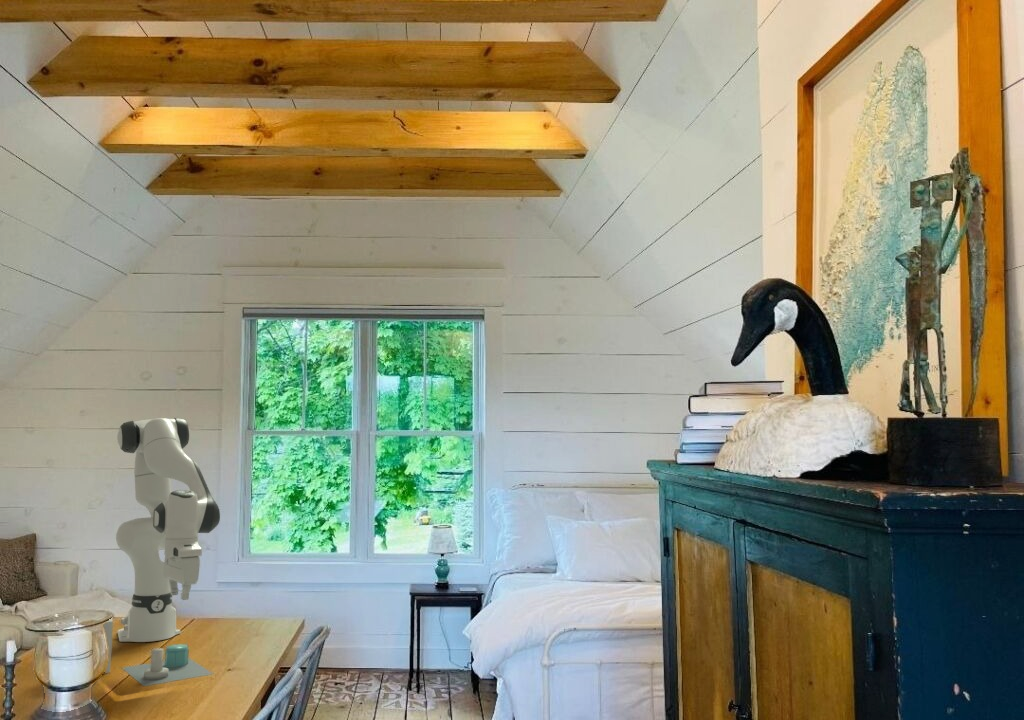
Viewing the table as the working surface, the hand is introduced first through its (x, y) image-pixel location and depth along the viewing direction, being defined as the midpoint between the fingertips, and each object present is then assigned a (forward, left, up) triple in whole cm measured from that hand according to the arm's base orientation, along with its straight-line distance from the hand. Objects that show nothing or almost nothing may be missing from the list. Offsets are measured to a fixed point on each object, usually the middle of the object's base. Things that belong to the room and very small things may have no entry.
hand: (179, 597), depth 230 cm
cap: (0, 0, -19) cm, 19 cm away
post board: (+5, -4, -20) cm, 21 cm away
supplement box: (-8, -20, -20) cm, 29 cm away
